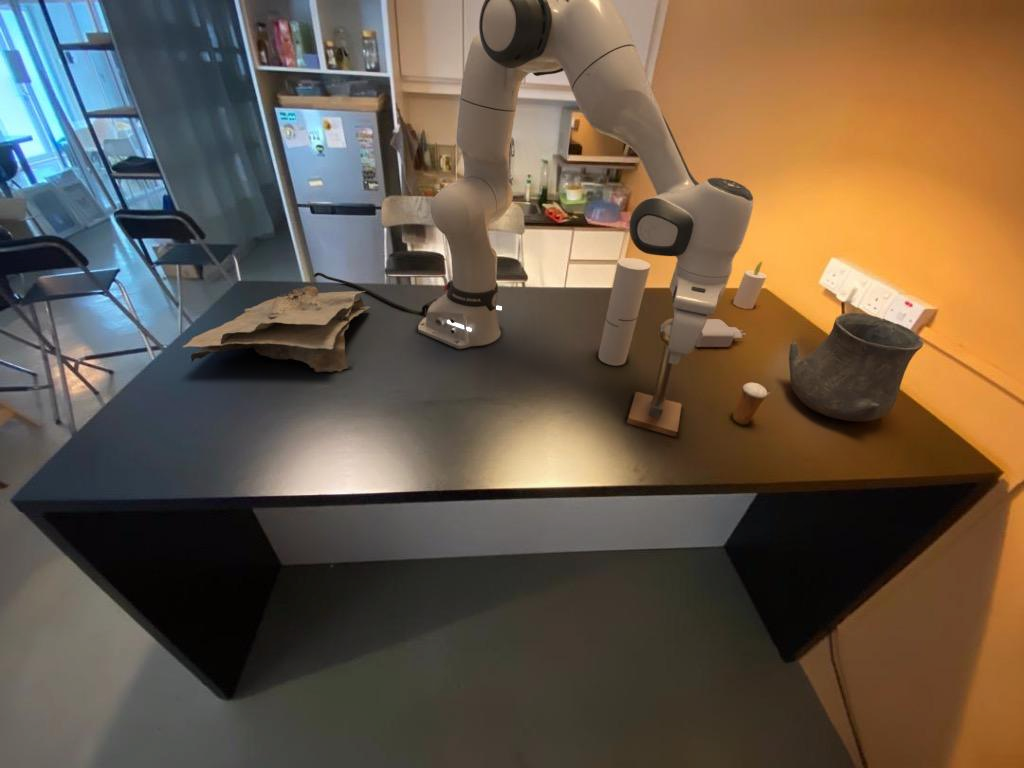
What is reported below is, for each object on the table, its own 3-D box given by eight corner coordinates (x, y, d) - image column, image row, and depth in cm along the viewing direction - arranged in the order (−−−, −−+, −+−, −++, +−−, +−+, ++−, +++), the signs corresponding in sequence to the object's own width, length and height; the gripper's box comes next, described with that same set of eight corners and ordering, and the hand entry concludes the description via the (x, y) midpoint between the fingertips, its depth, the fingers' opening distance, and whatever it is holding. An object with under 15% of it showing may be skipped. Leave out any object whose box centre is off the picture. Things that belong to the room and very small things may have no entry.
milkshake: (754, 431, 89) (774, 393, 83) (727, 421, 91) (745, 384, 85) (757, 419, 92) (776, 382, 86) (731, 410, 94) (748, 373, 88)
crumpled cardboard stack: (252, 282, 117) (367, 274, 117) (270, 337, 124) (378, 329, 124) (166, 322, 85) (323, 310, 86) (197, 393, 92) (342, 381, 93)
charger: (749, 348, 117) (697, 348, 115) (732, 332, 124) (683, 331, 123) (756, 333, 114) (703, 333, 113) (738, 317, 121) (688, 317, 120)
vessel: (915, 433, 91) (981, 355, 80) (825, 440, 88) (880, 360, 76) (838, 374, 109) (883, 303, 97) (761, 378, 105) (798, 305, 93)
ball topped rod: (660, 323, 77) (689, 327, 76) (663, 312, 81) (691, 316, 79) (642, 413, 89) (667, 418, 88) (646, 400, 93) (669, 404, 91)
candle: (750, 301, 142) (769, 258, 133) (755, 310, 137) (774, 265, 128) (731, 298, 143) (748, 255, 134) (734, 307, 138) (752, 262, 129)
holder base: (626, 423, 89) (630, 408, 87) (634, 396, 97) (638, 382, 94) (675, 437, 86) (681, 423, 84) (679, 408, 94) (684, 395, 92)
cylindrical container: (626, 367, 106) (651, 271, 91) (597, 362, 107) (617, 267, 92) (625, 352, 112) (649, 260, 97) (598, 348, 113) (617, 256, 98)
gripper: (683, 261, 82) (664, 324, 90) (673, 302, 67) (651, 373, 75) (718, 267, 80) (695, 331, 89) (716, 310, 65) (688, 383, 73)
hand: (675, 351), depth 82 cm, fingers open, 7 cm apart
